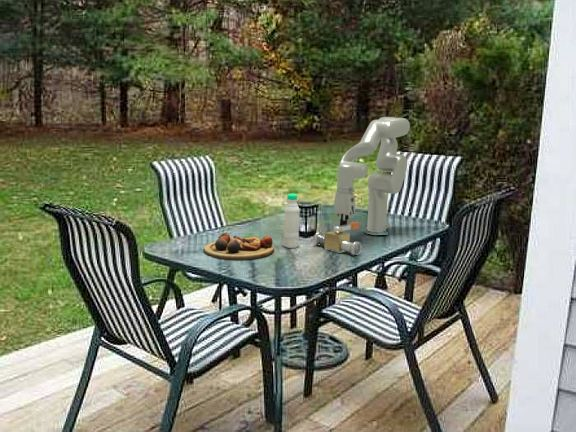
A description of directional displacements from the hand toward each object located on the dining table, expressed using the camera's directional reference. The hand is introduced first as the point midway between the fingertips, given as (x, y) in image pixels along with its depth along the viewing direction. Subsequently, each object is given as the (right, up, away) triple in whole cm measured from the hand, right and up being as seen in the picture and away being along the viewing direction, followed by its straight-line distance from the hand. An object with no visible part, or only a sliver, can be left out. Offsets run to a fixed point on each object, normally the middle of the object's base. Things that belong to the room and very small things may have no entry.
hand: (343, 228), depth 297 cm
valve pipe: (-4, -10, -9) cm, 14 cm away
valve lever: (+1, -1, -6) cm, 6 cm away
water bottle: (-25, -9, -4) cm, 27 cm away
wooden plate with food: (-49, -11, -13) cm, 52 cm away
